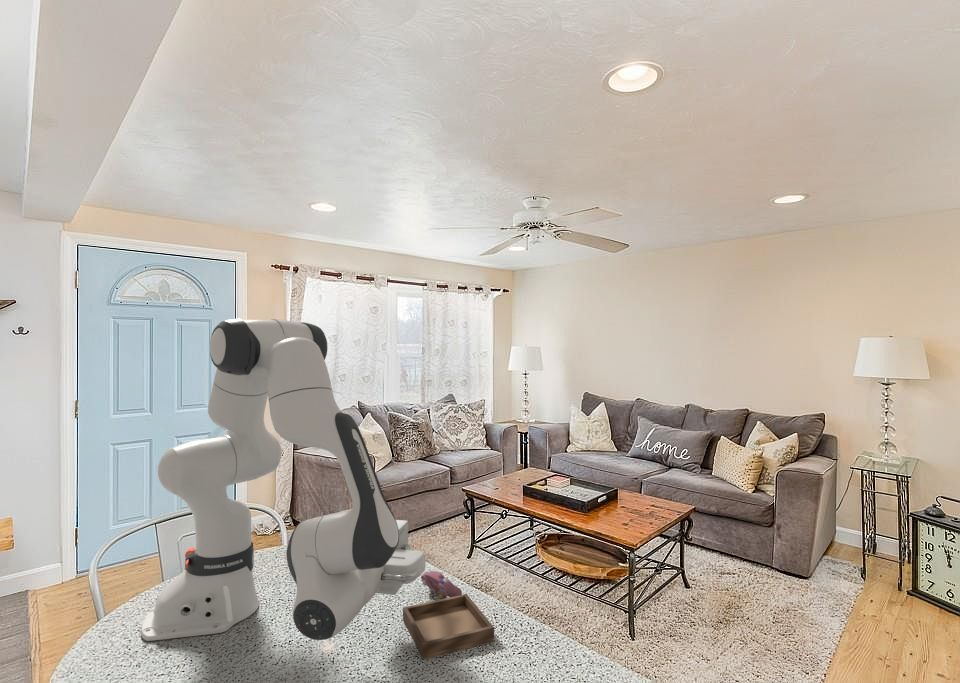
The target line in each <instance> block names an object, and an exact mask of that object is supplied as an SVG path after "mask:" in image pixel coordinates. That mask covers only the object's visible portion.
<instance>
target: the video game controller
mask: <svg viewBox="0 0 960 683" xmlns="http://www.w3.org/2000/svg"><path fill="white" fill-rule="evenodd" d="M420 578H421V582H422V583H421V584H423V586H427V587H428V589H429V590H430V591H431V592H432V594H434V595H436V594H438V596H439V597H440V598H442V599H445V598H450V597H454V596H459V595H463V590H462V588H459V587H458V586H457V585H455V584H454V583H453V582H452V581H450V580H449V579H448V578H447V577H445V575H444V574H443V573H442V572H440V571H437V570H434V571H433V570H431V569H428V570H427V571H424V572H423V573H422V574H421V575H420Z"/></svg>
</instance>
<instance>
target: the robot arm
mask: <svg viewBox="0 0 960 683" xmlns="http://www.w3.org/2000/svg"><path fill="white" fill-rule="evenodd" d="M209 342H210V343H209V355H210V359H211V362H212V364H213V365H214V367H215V368H216V371H215V374H214V378H213V383H212V388H211V391H210V397H209V401H208V405H207V414H208V417H209V419H211V420H210V421H212V423H214V424H215V425H216V426H218V427H220V428H222V429H224V430H226V433H225V434H224V435H221V436H217V437H209V438H203V439H196V440H191V441H186V442H184V443H181V444H177V445H175V446H172V447H170V448H168V449H166V450H165V452H164V453H163V455H162V456H161V458H160V459H159V463H158V466H157V476H158V479H159V480H158V481H159V483H161V484H160V485H162V486H163V488H164V489H165V490H166V491H167V492H168V493H170V494H172V495H174V496H176V497H178V498H180V499H181V500H182V501H183V502H185V503H186V505H187V507H188V508H189V510H190V512H191V513H192V517H193V520H194V528H195V529H194V531H195V533H194V534H195V547H188V548H187V550H186V551H185V555H184V556H185V557H184V558H185V559H184V560H185V561H184V562H185V563H184V567H185V568H184V570H183V571H182V572H180V573H179V574H178V575H177V576H176V577H175V578H173V579H172V580H171V581H170V582H168V583H167V584H166V585H165V586H164V587H163V588H162V589H161V591H160V593H159V595H158V597H157V599H156V603H155V604H154V606H155V607H154V608H153V609H151V610H150V611H149V612H148V614H146V615H145V617H144V619H143V622H142V623H141V624H142V625H141V630H140V631H141V632H140V636H141V637H142V639H143V640H144V641H147V642H150V641H151V642H152V641H160V640H170V639H177V638H187V637H195V636H206V635H213V634H222V633H224V632H227V631H228V630H229V629H231V628H232V627H233V626H234V625H236V624H237V623H240V622H242V621H243V620H245V619H247V618H249V617H250V616H252V614H254V613H255V612H256V611H257V610H258V608H259V607H260V600H259V598H258V595H257V591H256V586H255V585H256V584H255V581H254V573H253V572H254V570H253V569H254V564H255V547H254V542H253V541H252V513H251V510H250V508H249V507H248V505H246V504H245V503H244V502H242V501H239V500H237V499H233V498H229V497H228V496H229V495H228V492H227V489H228V486H233V485H236V484H240V483H245V482H248V481H250V482H251V481H255V480H257V479H260V478H262V477H264V476H267V475H269V474H270V473H273V472H275V471H276V470H277V468H278V467H279V465H280V462H281V459H282V446H281V444H280V441H279V440H278V438H277V437H276V436H275V435H274V434H272V433H271V432H270V431H269V430H268V429H267V428H266V426H265V411H266V407H267V402H268V406H269V414H270V419H271V423H272V425H273V428H274V430H275V432H276V433H277V434H278V436H280V437H281V438H282V439H284V440H285V441H287V442H288V443H291V444H294V445H297V446H301V447H307V448H315V449H321V450H325V451H327V452H329V453H330V454H332V455H333V456H334V457H335V458H336V459H337V460H338V462H339V465H340V468H341V472H342V474H343V477H344V479H345V483H346V487H347V489H348V492H349V495H350V497H351V500H352V508H350V509H345V510H340V511H341V512H337V513H333V514H332V513H329V514H323V515H320V516H315V517H313V518H312V517H311V518H310V519H309V518H308V519H304V520H302V521H299V523H298V524H297V525H296V527H295V528H294V529H293V531H292V533H291V535H290V537H289V539H288V543H287V547H286V561H287V567H288V569H289V573H290V575H291V577H292V579H293V581H294V582H295V584H296V596H295V600H294V604H293V609H292V619H293V623H294V625H295V627H296V629H297V630H298V631H299V633H301V635H303V636H304V637H306V638H309V639H311V640H315V641H323V640H329V639H332V638H334V637H335V636H337V635H338V634H340V633H341V632H342V631H343V630H344V629H346V628H347V627H348V626H349V625H350V624H351V623H352V622H353V621H354V619H355V618H356V617H357V616H359V614H360V613H361V611H362V609H363V607H364V606H366V605H367V604H368V603H369V602H370V601H371V599H372V598H374V596H375V595H376V594H378V593H377V591H378V590H379V589H380V588H381V586H382V584H383V582H387V583H398V584H403V585H407V584H411V583H413V582H414V581H416V580H417V579H418V578H419V577H421V576H422V575H423V574H424V573H425V570H426V565H427V564H426V561H427V560H426V554H425V552H424V551H423V550H415V549H414V550H413V549H412V545H411V544H408V545H405V544H404V545H403V546H402V547H401V549H396V548H397V546H398V543H399V530H398V525H397V522H396V520H397V519H396V517H395V515H394V513H393V511H392V509H391V507H390V505H389V504H388V502H387V500H386V497H385V495H384V492H383V490H382V486H381V485H380V482H379V478H378V475H377V473H376V470H375V467H374V465H373V461H372V459H371V456H370V453H369V450H368V448H367V445H366V442H365V439H364V438H363V435H362V433H361V430H360V428H359V426H358V424H357V422H356V421H355V418H353V417H352V416H351V415H350V414H348V413H345V412H343V411H342V410H341V409H340V407H339V406H338V404H337V402H336V399H335V396H334V393H333V391H334V390H333V387H332V382H331V378H330V374H329V370H328V367H327V364H326V359H327V354H328V340H327V337H326V334H325V332H324V330H323V329H322V328H321V327H320V326H317V325H315V324H312V323H309V322H304V321H302V322H297V321H292V320H285V319H275V318H271V319H242V318H233V319H226V320H222V321H220V322H219V323H218V325H216V326H215V327H214V329H213V330H212V334H211V337H210V340H209Z"/></svg>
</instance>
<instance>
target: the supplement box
mask: <svg viewBox="0 0 960 683" xmlns="http://www.w3.org/2000/svg"><path fill="white" fill-rule="evenodd" d="M395 520H396V522H397V525H398V530H399V543H398V546H397V548H396V549H401V547H402V546H403V545H404V544H405V545H409V521H408V520H405V519H404V520H401V519H395ZM403 585H404V584H398V583H387V582H383V584H382V586H381V588H380V589H379V590H378V591H377V593H376V594H382V595H391V596H395V595H396V594H397V593H398V592H399V591H400V589H401V588H402V586H403Z"/></svg>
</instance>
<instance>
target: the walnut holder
mask: <svg viewBox="0 0 960 683" xmlns="http://www.w3.org/2000/svg"><path fill="white" fill-rule="evenodd" d="M402 621H403V624H404V625H405V628H406V630H407V631H408V633H409V636H410V637H411V638H412V641H413V642H414V645H415V646H416V649H417V651H418V653H419V655H420V657H421V659H422V660H423V661H424V660H429V659H432V658H436V657H439V656H444V655H447V654H452V653H455V652H459V651H463V650H467V649H470V648H474V647H478V646H482V645H486V644H491V643H493V642H495V627H494V625H493V624H492V623H491V622H490V621H489V618H487V617H486V616H485V615H484V613H483V612H482V611H481V609H480V608H479V607H478V606H477V604H476V603H475V602H474V601H473V600H472V599H471V598H470V596H469V594H467V593H465V594H462V595H459V596H454V597H446V598H445V599H443V598H442V599H436V600H431V601H427V602H422V603H417V604H413V605H409V606H404V607H402Z"/></svg>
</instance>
